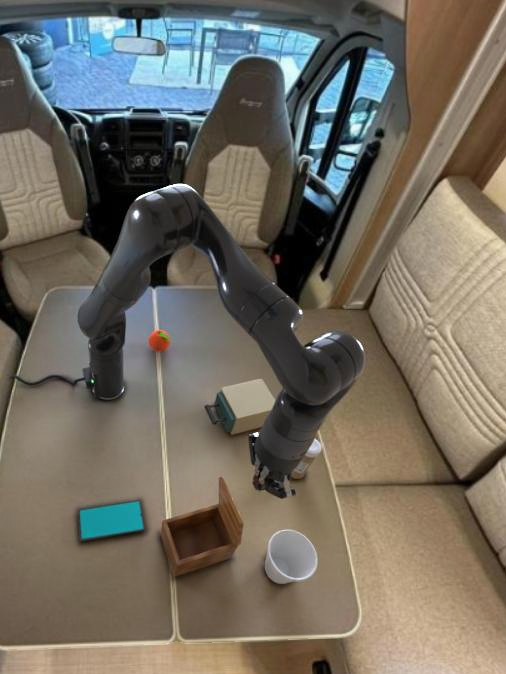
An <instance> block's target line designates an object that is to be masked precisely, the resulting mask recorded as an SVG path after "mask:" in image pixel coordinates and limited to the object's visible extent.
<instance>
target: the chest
mask: <svg viewBox="0 0 506 674" xmlns="http://www.w3.org/2000/svg"><path fill="white" fill-rule="evenodd" d="M159 534H160V539H161V540H162V544H163V548H164V550H165V554H166V557H167V561H168V563H169V567H170V569H171V573H172V575H173V578H176V577H178V576H182V575H184V574H185V575H186V574H189V573H191V572H194V571H196V570H199V569H203V568H205V567H208V566H211V565H214V564H215V565H216V564H218V563H221V562H225V561H227V560H229V559H231V558H232V557H233V555H234V553H235V552H236V550H237V548H239V545H237V544H236V542H235V540H234V537H233V535H232V533H231V530H230V528H229V526H228V523H227V521H226V519H225V517H224V514H223V512H222V510H221V507H220V505H219V503H216V504H213V505H209V506H207V507H203V508H199V509H196V510H193V511H189V512H186V513H182V514H180V515H176V516H173V517H169V518H166V519H164V520H162V521H161V528H160V533H159Z"/></svg>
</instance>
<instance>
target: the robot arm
mask: <svg viewBox="0 0 506 674" xmlns="http://www.w3.org/2000/svg"><path fill="white" fill-rule="evenodd" d="M189 246H191V247H193V248H195V249H196V250H197V251H199V252H200V253H201V254H202V255H203V256H204V257H205V258H206V259H207V261H208V262H209V264H210V265H211V268H212V272H213V276H214V280H215V284H216V285H215V286H216V289H217V293H218V297H219V299H220V302H221V304H222V306H223V308H224V310H225V311H226V312H227V313H228V314H229V315H230V317H231V318H232V319H233V320H234V321H235V322H236V323H237V324H238V325H239V326H240V327H241V328H242V329H243V331H245V332H246V334H247V335H248V336H250V337H251V338H252V339H253V340H254V341H255V342H256V343H257V345H258V347H259V349H260V351H261V352H262V355H263V356H264V358H265V359H266V361H267V363H268V365H269V366H270V368H271V370H272V372H273V374H274V376H275V377H276V379H277V381H278V384H280V386H281V387H282V389H281V390H280V391H279V393H278V394H277V396H276V398H275V402H274V405H273V407H272V409H271V411H270V413H269V414H268V415H267V417H266V419H265V421H264V423H263V425H262V427H260V430H259V431H258V432H254V433H250V434H248V435H247V439H248V446H249V447H248V449H249V458H250V463H251V465H252V466H253V467H254V466H255V468H254V474H253V476H252V482H251V483H252V486H253V488H254V490H255V491H258V492H262V491H265V492H266V493H267V494H270V495H272V496H274V497H276V498H278V499H281V500H284V499H287V498H291V497H293V496H296V495H297V491H296V489H295V488H294V487H292V486H291V484H290V481H291V479H292V478H293V477H292V471H293V470H294V469H295V468H296V467H297V466H298V465H299V463H300V462H301V460H302V459H303V457H304V456H305V454H306V453H307V451H308V449H309V448H310V446H311V445H312V443H313V441H314V439H316V436H317V434H318V432H319V431H320V429H321V428H322V426H323V424H324V423H325V421H326V419H327V417H328V415H329V414H330V413H331V411H332V410H333V409H334V408H335V406H337V405H338V404H339V403H340V401H341V400H342V399H343V398H344V397H345V396H346V395H347V394H348V393H349V391H350V390H351V389H352V388H353V387H354V386H355V384H356V383H357V382H358V381H359V379H360V378H361V376H362V374H363V372H364V369H365V366H366V354H365V350H364V347H363V345H362V344H361V342H360V341H359V339H357V338H356V337H355V336H353V335H352V334H350V333H348V332H345V331H340V330H333V331H328V332H324V333H321V334H320V335H318V336H316V337H315V338H313V339H312V340H310V341H309V342H306V344H302V343H301V341H300V340H299V338H298V336H297V335H296V331H297V330H298V329H299V328H300V326H301V324H303V323H302V322H303V320H304V311H303V310H302V308H301V307H300V306H299V304H297V302H295V300H293V298H292V297H290V296H289V295H288V294H287V293H286V292H284V291H283V290H282V289H281V288H280V287H279V286H278V285H277V284H276V283H275V282H274V281H273V280H272V279H270V278H269V277H268V276H267V275H266V274H265V273H264V272H263V271H262V270H261V269H260V268H259V267H258V266H257V265H256V264H255V263H254V262H253V261H252V260H251V258H250V257H249V256H248V254H247V253H245V251H244V250H243V249H242V247H241V246H240V245H239V243H238V242H237V241H236V239H235V238H234V236H232V234H231V232H230V231H229V230H228V229H227V227H226V226H225V225H224V224H223V223H222V221H221V219H220V218H219V217H218V216H217V215H216V213H215V212H214V210H213V209H212V208H211V207H210V205H209V204H208V203H207V202H206V200H205V199H204V198H203V197H202V196H201V195H200V194H199V193H198V192H197V191H196V190H195V189H194V188H192V187H191V186H189V185H188V184H183V183H176V184H173V185H168V186H166V187H163V188H160V189H157V190H154V191H150V192H147V193H145V194H142V195H140V196H138V197H137V198H136V199H135V200H134V201H133V202H132V203H131V204H130V206H129V208H128V210H127V211H126V215H125V217H124V221H123V223H122V227H121V230H120V233H119V236H118V240H117V242H116V244H115V246H114V249H113V250H112V253H111V254H110V257H109V259H108V260H107V263H105V265H104V268H103V269H102V272H101V274H100V275H99V277H98V280H97V281H96V283H95V285H94V287H93V289H92V290H91V292H90V294H89V295H88V297H87V298H86V299H85V301H83V303H82V304H81V305H80V306H79V308H78V310H77V324H78V328H79V329H80V331H81V333H82V334H83V335H84V337H86V338H88V340H87V351H88V357H89V363H88V367H83V368H81V369H82V376H83V377H79V378H75V379H74V380H71V379H70V378H67V377H65V376H63V375H60V374H50V375H48V376H45V377H43V378H41V379H39V380H37V381H32V382H31V381H30V382H29V381H27V380H25V379H23V378H21V377H20V376H19V375H16V374H12V375H10V376H9V379H11V380H12V379H16V380H18V382H21V383H22V384H24V385H26V386H36V385H37V386H38V385H39V384H42V383H44V382H46V381H47V380H50V379H55V378H56V379H60V380H63V381H65V382H67V383H68V384H71V385H74V386H75V385H78V383H80V382H84V383H85V387H86V389H87V390H89V389H92V392H93V394H94V395H93V396H94V399H95V400H99V399H100V400H103V401H113V400H117V399H118V398H119V397H121V396H122V395H123V393H124V391H125V378H124V377H125V376H124V375H125V374H124V346H125V343H126V331H127V316H126V311H128V310H129V309H131V308H133V306H135V305H136V304H137V303H138V302H139V301H140V300H141V298H142V297H143V296H144V295H145V294H146V292H147V290H148V288H149V287H150V284H151V280H152V274H151V272H152V271H151V269H150V266H151V265H152V264H153V263H154V262H156V261H157V260H159V259H160V258H163V257H165V256H167V255H170V254H172V253H174V252H178V251H180V250H182V249H184V248H186V247H189Z"/></svg>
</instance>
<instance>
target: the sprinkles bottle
mask: <svg viewBox="0 0 506 674" xmlns="http://www.w3.org/2000/svg"><path fill="white" fill-rule="evenodd" d="M322 450H323V449H322V444H321V442H320V441H319V440H318V439H316V438H315V439H314V441H313V443H312V445H311V446H310V448H309V449H308V451H307V453H306V454H305V456H304V457H303V459H302V460H301V462H300V463H299V465H298V466H297V467H296V468H295V469H294V470H293V471H292V477H291V478H293V479H296V480H299V479H302V478H304V476H305V474H306V472H307V471H308V470H309V469H310V467H311V466H312V464H313V462H314V461H315V459H316V458H317V457H318V456H319V455H320V454H321V452H322Z"/></svg>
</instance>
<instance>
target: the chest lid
mask: <svg viewBox="0 0 506 674" xmlns="http://www.w3.org/2000/svg"><path fill="white" fill-rule="evenodd" d="M227 485H228V484H227V483H226V480H225V479H224V476H223V475H221V476H218V504H219V505H220V507H221V510H222V512H223V514H224V517H225V519H226V521H227V523H228V526H229V528H230V530H231V533H232V535H233V537H234V540H235V542H236V544H237V545H238V546H240V545H241V542H242V539H243V538H242V536H243V530H244V524H245V522H244V520H243V518H242V516H241V513H240V512H239V510H238V507H237V505H236V503H235V500H234V498H233V495H232V494H231V492H230V489H229V488H228V486H227Z"/></svg>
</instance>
